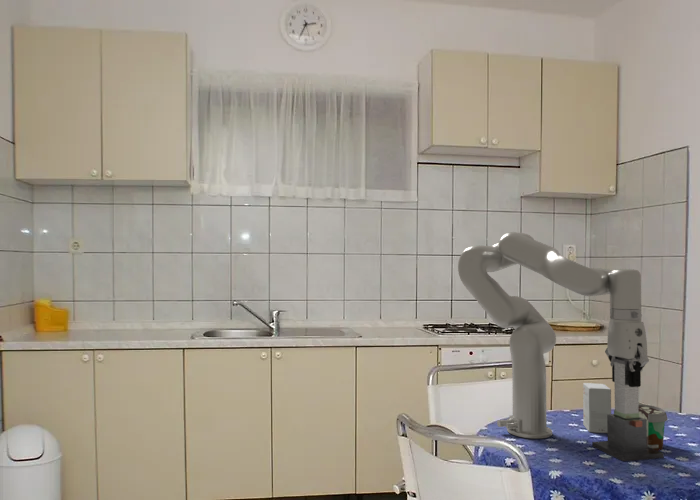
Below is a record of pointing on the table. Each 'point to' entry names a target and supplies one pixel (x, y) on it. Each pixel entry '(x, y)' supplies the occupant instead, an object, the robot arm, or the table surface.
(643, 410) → the food container
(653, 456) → the stand
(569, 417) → the table surface
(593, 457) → the table surface
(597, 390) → the small box
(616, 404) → the column
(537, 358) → the robot arm
